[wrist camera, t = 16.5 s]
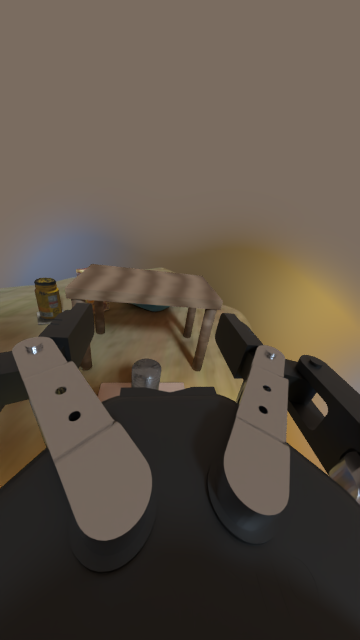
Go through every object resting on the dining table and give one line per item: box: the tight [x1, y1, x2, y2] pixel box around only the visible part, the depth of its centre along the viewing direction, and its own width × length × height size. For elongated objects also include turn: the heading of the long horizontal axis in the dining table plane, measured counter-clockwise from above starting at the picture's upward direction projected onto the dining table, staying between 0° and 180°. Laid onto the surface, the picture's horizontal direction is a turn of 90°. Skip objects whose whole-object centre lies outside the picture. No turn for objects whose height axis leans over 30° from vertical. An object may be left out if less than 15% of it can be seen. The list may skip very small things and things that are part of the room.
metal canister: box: [131, 359, 161, 390], centre depth 32 cm, size 4×4×12 cm
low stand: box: [65, 264, 223, 371], centre depth 49 cm, size 30×18×20 cm, turn 98°
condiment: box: [34, 278, 63, 325], centre depth 58 cm, size 7×8×12 cm
